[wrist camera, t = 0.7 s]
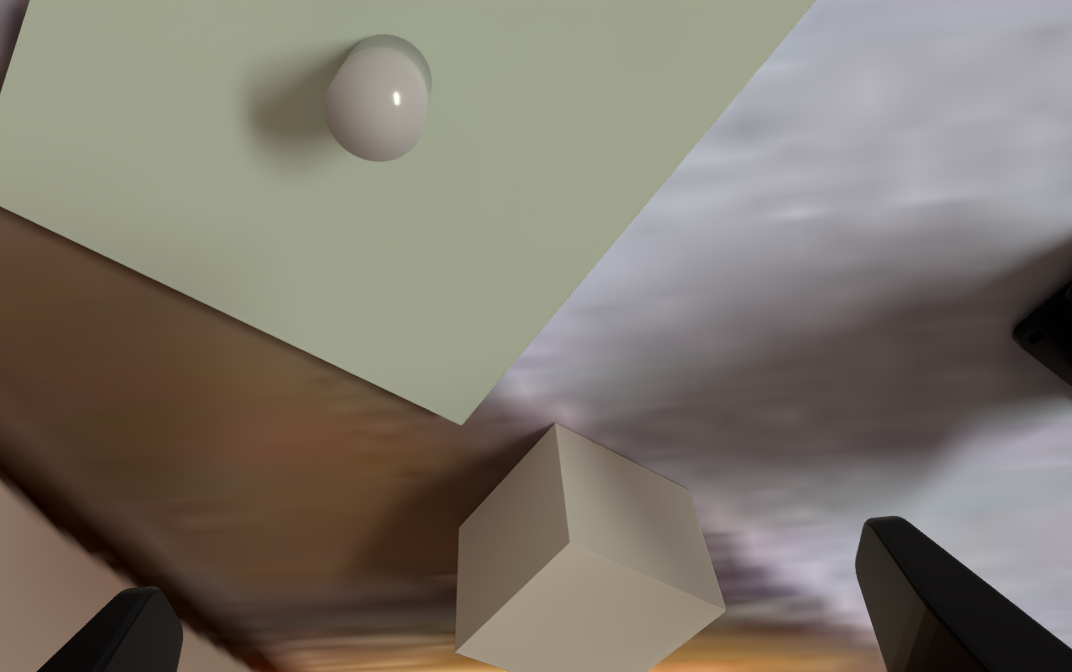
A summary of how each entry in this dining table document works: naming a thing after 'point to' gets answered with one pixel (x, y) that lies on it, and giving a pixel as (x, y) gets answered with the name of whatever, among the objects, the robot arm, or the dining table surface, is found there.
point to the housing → (582, 565)
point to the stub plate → (356, 229)
